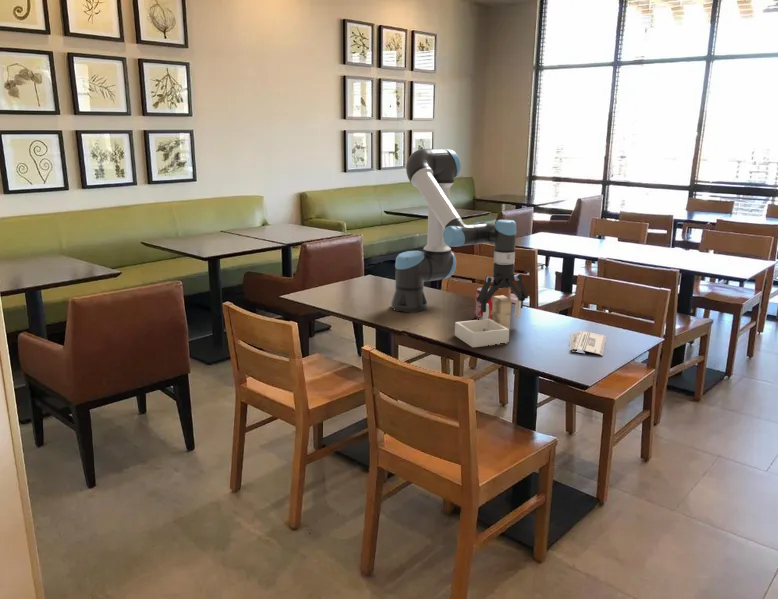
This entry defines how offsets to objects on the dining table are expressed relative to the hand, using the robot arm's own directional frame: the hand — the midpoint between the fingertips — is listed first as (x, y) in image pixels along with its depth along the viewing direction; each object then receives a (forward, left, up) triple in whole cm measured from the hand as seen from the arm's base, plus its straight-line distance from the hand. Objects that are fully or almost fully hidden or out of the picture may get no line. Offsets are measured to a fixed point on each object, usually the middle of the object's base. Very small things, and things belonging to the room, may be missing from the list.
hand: (501, 318), depth 233 cm
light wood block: (0, 0, -4) cm, 4 cm away
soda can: (-14, 0, -4) cm, 15 cm away
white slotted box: (+9, -13, -4) cm, 16 cm away
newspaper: (+26, +18, -5) cm, 32 cm away
